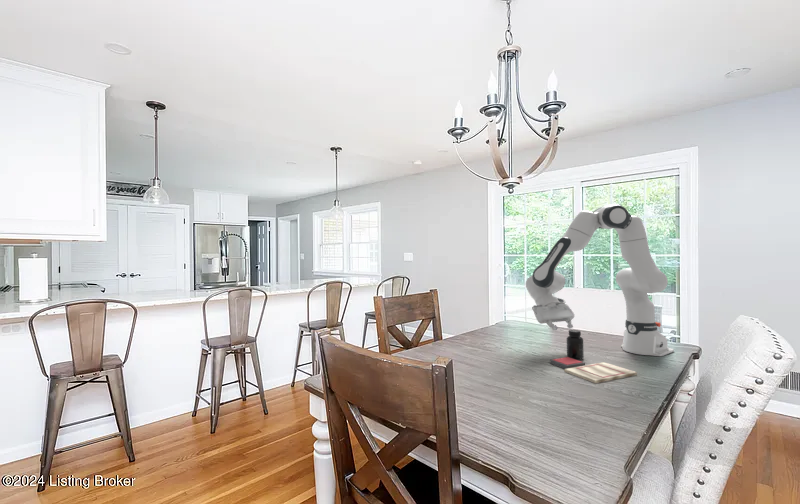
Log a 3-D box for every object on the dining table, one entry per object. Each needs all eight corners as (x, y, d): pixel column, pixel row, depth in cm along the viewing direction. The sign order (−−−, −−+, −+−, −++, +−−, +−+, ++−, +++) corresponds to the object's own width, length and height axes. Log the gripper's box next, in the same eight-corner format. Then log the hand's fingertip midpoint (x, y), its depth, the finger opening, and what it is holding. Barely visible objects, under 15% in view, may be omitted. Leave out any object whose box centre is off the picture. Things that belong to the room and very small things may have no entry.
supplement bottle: (580, 355, 167) (580, 329, 167) (586, 360, 160) (586, 332, 160) (564, 355, 168) (564, 329, 168) (569, 359, 161) (569, 332, 161)
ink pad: (567, 360, 160) (567, 356, 160) (585, 366, 152) (585, 362, 152) (550, 363, 156) (550, 359, 156) (567, 369, 148) (567, 365, 148)
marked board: (604, 364, 154) (604, 361, 154) (636, 374, 141) (636, 371, 141) (564, 371, 145) (564, 368, 145) (595, 383, 132) (595, 380, 132)
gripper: (533, 301, 173) (549, 326, 164) (566, 299, 180) (583, 322, 171) (527, 309, 177) (542, 334, 168) (559, 307, 185) (575, 330, 176)
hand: (563, 328), depth 170 cm, fingers open, 8 cm apart
